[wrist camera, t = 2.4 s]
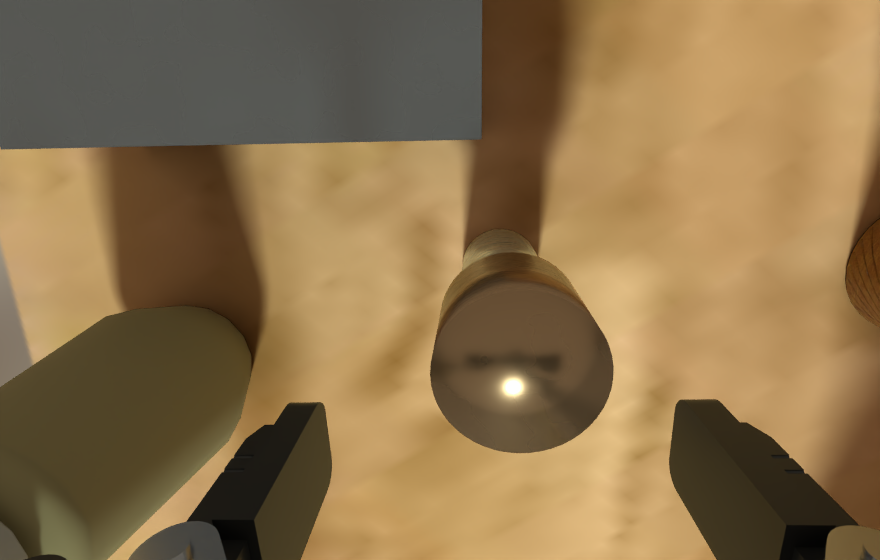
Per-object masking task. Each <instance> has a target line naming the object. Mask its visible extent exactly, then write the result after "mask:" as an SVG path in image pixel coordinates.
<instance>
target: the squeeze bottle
mask: <svg viewBox="0 0 880 560" xmlns="http://www.w3.org/2000/svg"><path fill="white" fill-rule="evenodd" d="M250 377H251V353H250V351H249V348H248V346H247V344H246V341H245V339H244V336H243V335H242V334H241V333H240V332H239V331H238V330H237V329H236V327H235V326H234V325H233V324H232V323H231V322H230V321H229V320H228V319H226V318H224V317H223V316H221V315H219V314H217V313H215V312H213V311H212V310H210V309H206V308H200V307H194V306H187V305H186V306H172V307H158V308H144V309H135V310H131V311H127V312H123V313H119V314H114V315H110V316H106V317H105V318H103V319H102V320H100V321H99V322H97V323H96V324H94V325H93V326H91V327H90V328H88V329H87V330H85V331H84V332H82V333H81V334H79V335H78V336H76V337H75V338H73V339H72V340H70V341H69V342H67V343H66V344H64V345H63V346H61V347H60V348H58V349H57V350H55V351H54V352H52V353H51V354H49V355H48V356H46V357H45V358H43V359H42V360H40V361H39V362H37V363H36V364H34V365H33V366H31V367H30V368H29V369H27V370H25V371H24V372H23V373H21V374H19V375H18V376H16V377H15V378H13V379H12V380H10V381H9V382H7V383H6V384H4V385H3V386H1V387H0V560H25V559H28V558H31V557H35V556H39V555H47V554H55V555H60V556H62V557H64V558H66V559H67V560H107V559H108V558H109V557H110V556H111V555H112V554H113V553H114V552H115V551H116V550H117V549H118V548H119V547H120V546H121V545H122V544H123V543H124V542H125V541H127V540H128V539H129V538H130V537H131V536H132V535H133V534H134V533H135V532H136V531H137V530H138V529H139V528H140V527H141V526H142V525H143V524H144V523H145V522H146V521H147V520H148V519H149V518H150V517H151V516H152V515H153V514H154V513H155V512H156V511H157V510H158V509H159V508H160V507H161V506H162V505H163V504H165V503H166V502H167V501H168V500H169V499H170V498H171V497H172V496H173V495H174V494H175V493H176V492H177V491H178V490H179V489H180V488H181V487H182V486H183V485H184V484H185V483H186V482H187V481H188V480H189V479H190V478H191V477H192V476H193V475H194V474H195V473H196V472H197V471H198V470H199V469H200V468H201V467H203V466H204V465H205V464H206V463H207V462H208V461H209V460H210V459H211V458H212V457H213V456H214V455H215V454H216V453H217V452H218V451H219V450H220V449H221V448H222V447H223V446H224V445H225V444H226V443H227V442H228V441H229V439H230V437H231V435H232V433H233V431H234V429H235V428H236V426H237V424H238V422H239V420H240V418H241V414H242V410H243V406H244V402H245V398H246V394H247V390H248V385H249V381H250Z"/></svg>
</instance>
